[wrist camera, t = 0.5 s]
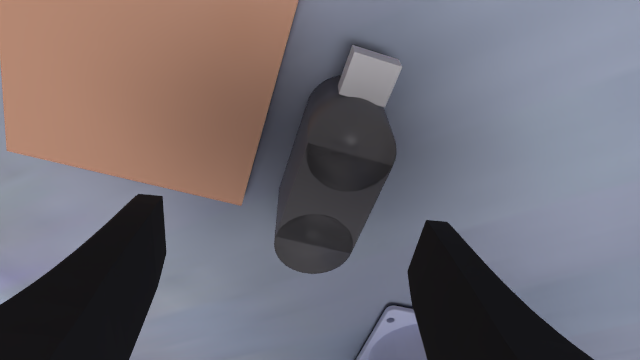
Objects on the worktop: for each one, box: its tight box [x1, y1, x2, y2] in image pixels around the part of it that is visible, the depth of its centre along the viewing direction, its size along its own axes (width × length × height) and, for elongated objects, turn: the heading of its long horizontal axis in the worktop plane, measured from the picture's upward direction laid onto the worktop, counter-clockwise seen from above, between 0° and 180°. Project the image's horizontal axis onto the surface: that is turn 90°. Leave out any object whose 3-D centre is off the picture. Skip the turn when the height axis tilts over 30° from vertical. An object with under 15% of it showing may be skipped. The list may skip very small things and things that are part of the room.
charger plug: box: [274, 45, 402, 274], centre depth 20 cm, size 10×4×4 cm, turn 162°
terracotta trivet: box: [0, 0, 298, 206], centre depth 19 cm, size 11×11×1 cm
